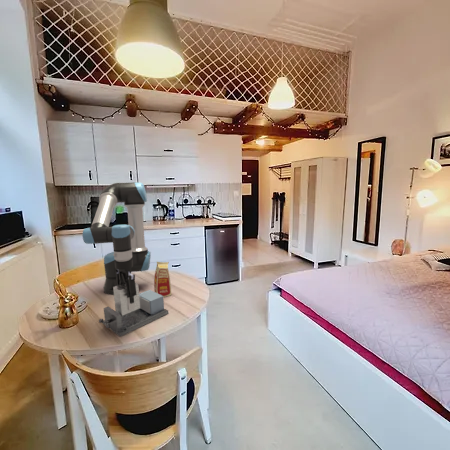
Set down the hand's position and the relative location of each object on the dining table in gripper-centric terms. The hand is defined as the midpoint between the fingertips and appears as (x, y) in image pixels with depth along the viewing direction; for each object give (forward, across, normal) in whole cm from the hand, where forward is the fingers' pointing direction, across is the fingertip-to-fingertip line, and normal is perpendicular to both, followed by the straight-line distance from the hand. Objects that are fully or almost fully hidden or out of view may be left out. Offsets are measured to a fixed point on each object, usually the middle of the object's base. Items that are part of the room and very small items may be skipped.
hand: (127, 307), depth 119 cm
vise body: (+8, 0, +2) cm, 8 cm away
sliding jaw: (+6, 0, +12) cm, 13 cm away
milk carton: (+8, -13, +29) cm, 32 cm away
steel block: (+1, 0, 0) cm, 1 cm away
